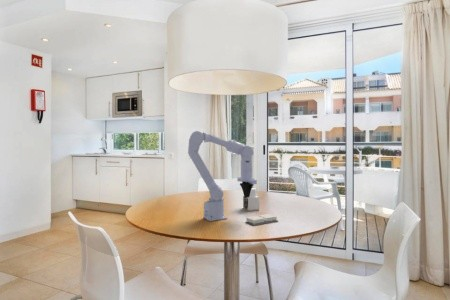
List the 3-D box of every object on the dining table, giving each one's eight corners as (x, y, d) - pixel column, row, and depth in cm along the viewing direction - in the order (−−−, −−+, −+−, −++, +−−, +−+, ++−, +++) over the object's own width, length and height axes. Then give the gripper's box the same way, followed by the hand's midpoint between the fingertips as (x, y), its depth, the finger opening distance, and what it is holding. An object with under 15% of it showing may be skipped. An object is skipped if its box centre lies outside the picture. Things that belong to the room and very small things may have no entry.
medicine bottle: (243, 208, 162) (242, 187, 162) (254, 207, 164) (254, 186, 164) (247, 210, 155) (247, 188, 155) (259, 209, 158) (259, 188, 157)
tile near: (246, 220, 133) (253, 223, 128) (246, 217, 133) (253, 220, 128) (256, 219, 136) (264, 222, 131) (256, 215, 136) (264, 218, 131)
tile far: (258, 218, 137) (266, 221, 131) (258, 215, 137) (266, 218, 131) (268, 217, 139) (276, 220, 134) (268, 213, 139) (276, 216, 134)
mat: (253, 225, 126) (253, 225, 126) (245, 222, 132) (245, 221, 132) (278, 221, 133) (278, 220, 133) (269, 218, 139) (269, 217, 139)
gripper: (261, 170, 137) (262, 198, 137) (245, 168, 150) (245, 194, 150) (249, 171, 134) (249, 200, 134) (233, 169, 146) (234, 195, 147)
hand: (246, 197), depth 142 cm, fingers closed
